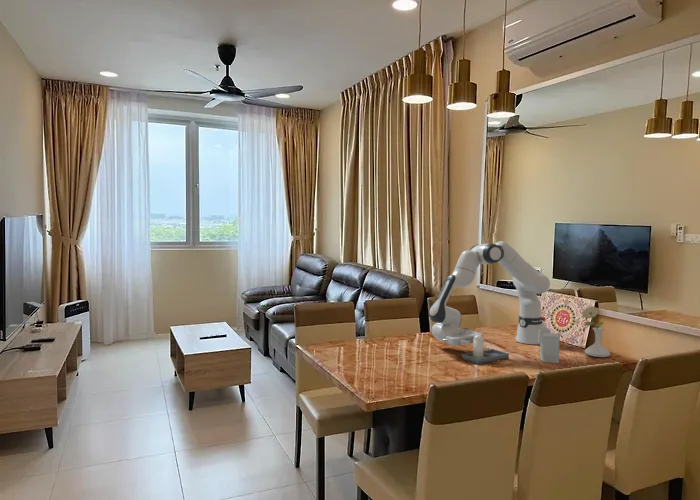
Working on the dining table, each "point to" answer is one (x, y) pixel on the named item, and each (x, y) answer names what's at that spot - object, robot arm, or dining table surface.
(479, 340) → the white round-topped cylinder
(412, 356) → the dining table surface
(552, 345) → the supplement box
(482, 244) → the robot arm
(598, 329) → the flower in vase
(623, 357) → the dining table surface
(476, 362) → the caddy
